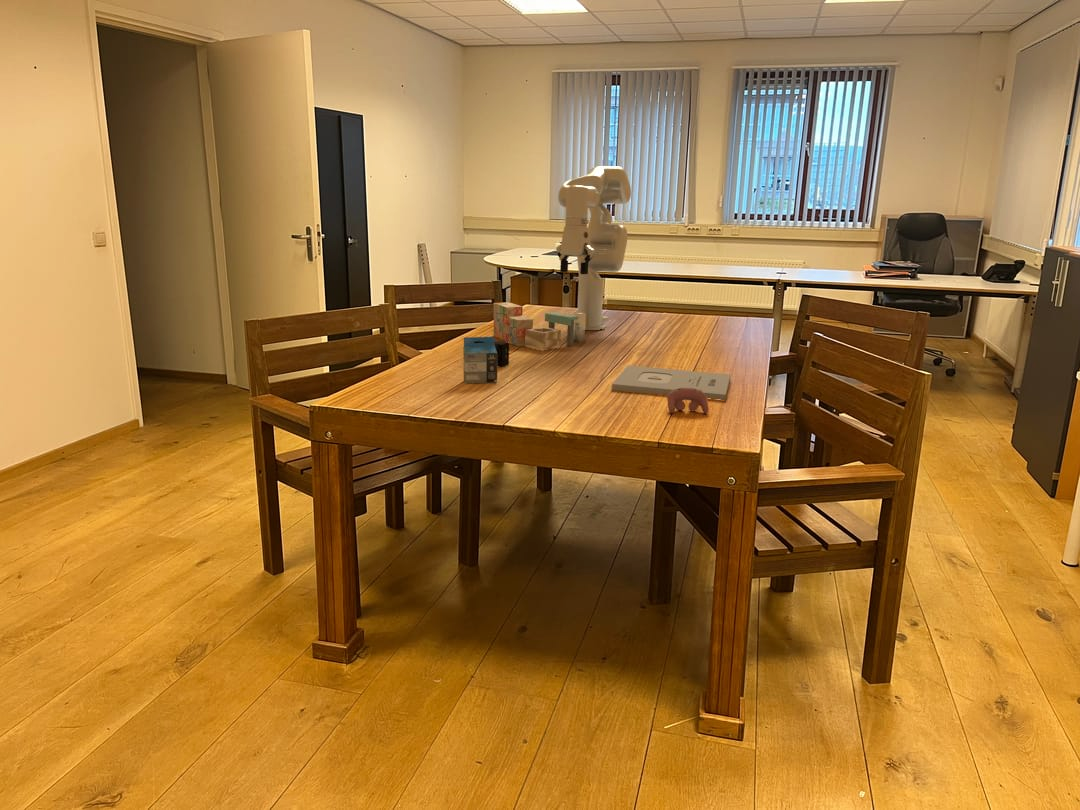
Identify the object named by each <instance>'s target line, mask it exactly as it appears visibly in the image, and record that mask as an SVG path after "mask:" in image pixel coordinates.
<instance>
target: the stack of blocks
mask: <svg viewBox="0 0 1080 810" xmlns="http://www.w3.org/2000/svg"><path fill="white" fill-rule="evenodd" d="M527 329H534V318H531V317H528V316H525V315H524V314H523V306H522V305H519V304H515V303H512V302H494V303H493V336H494V335H495V336H496V338H497V337H498V338H497V339H499V338H500V339H499V340H501V339H502V340H501V341H503V340H505V341H504V342H506V341H507V343H508V342H509V345H512V344H513V346H514V345H515V346H514V347H525V330H527ZM495 336H494V337H495Z"/></svg>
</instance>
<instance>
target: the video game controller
mask: <svg viewBox="0 0 1080 810" xmlns="http://www.w3.org/2000/svg"><path fill="white" fill-rule="evenodd" d="M666 399H667V408H668V411H669V414H671V413H673V414H674V413H675V410H677V411H678V410H682V411H684V409H686V403H685V402H684V401H687V400H688V401H690V402H689V403H688V406H687V407H688V410H689V411H690V410H693V411H692V412H695V410H696V411H697V410H698V408H699V407H700V408H701V410H702V413H703V414H704V413H709V408H710V407H709V402H708V399H707V398H706V395H705V394H704V393H703V392H702V390H697V389H694V388H679V389H674V390H673V391H671V392H670V393H669V394H668V396H667V398H666Z"/></svg>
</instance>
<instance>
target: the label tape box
mask: <svg viewBox="0 0 1080 810" xmlns="http://www.w3.org/2000/svg"><path fill="white" fill-rule="evenodd" d="M478 340H480V341H484V343H474V342H475V341H478ZM494 341H495V336H471V337H468V336H467V337H466V336H465V337H463V349H462V350H463V381H465V382H466V383H468V384H483V383H487V384H488V383H497V382H498V367H497V351H496V348H495V345H494ZM465 382H464V383H465ZM466 383H465V384H466Z"/></svg>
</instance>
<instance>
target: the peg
mask: <svg viewBox="0 0 1080 810" xmlns="http://www.w3.org/2000/svg"><path fill="white" fill-rule="evenodd" d="M577 312H578V311H577ZM577 312H574V313H573V316H578V320H574V335H573V342H574V341H575V342H574V343H584V341H585V340H586V338H585V337H586V335H585V334H586V330H585V318H586V313H579V312H578V313H577Z"/></svg>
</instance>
